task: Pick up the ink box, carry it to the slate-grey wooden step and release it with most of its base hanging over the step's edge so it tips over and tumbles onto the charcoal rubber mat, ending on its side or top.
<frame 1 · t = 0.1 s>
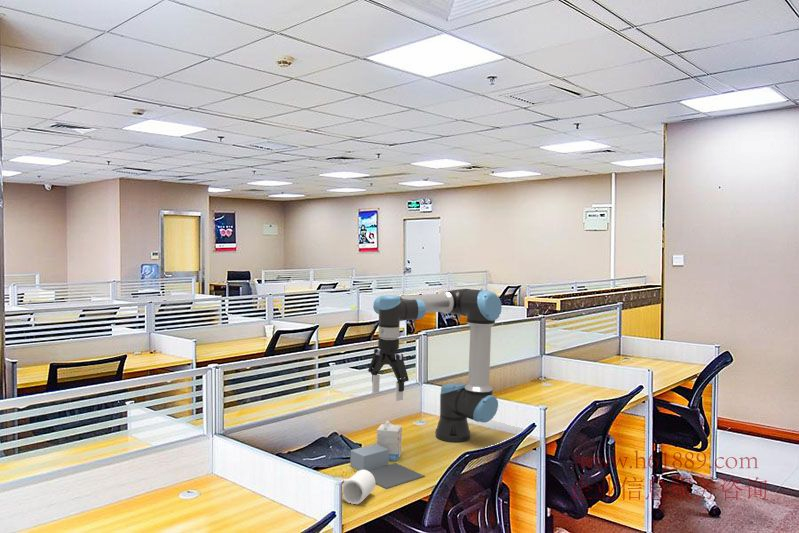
hand: (387, 396, 226), 28 cm above the table, fingers open, 13 cm apart
ink box: (388, 457, 243), on the table
mug: (352, 498, 204), on the table
step: (369, 465, 233), on the table
mat: (391, 475, 224), on the table
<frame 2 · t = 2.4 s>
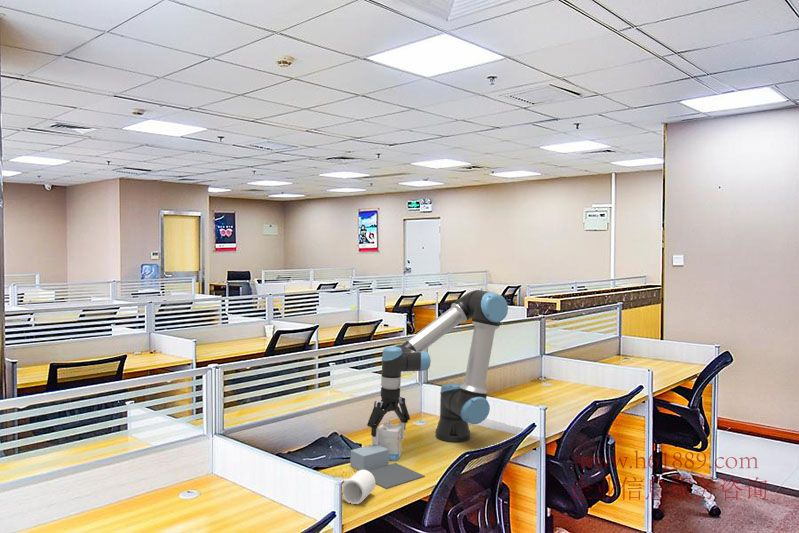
hand: (388, 441, 243), 6 cm above the table, fingers open, 12 cm apart
nothing on the table moved.
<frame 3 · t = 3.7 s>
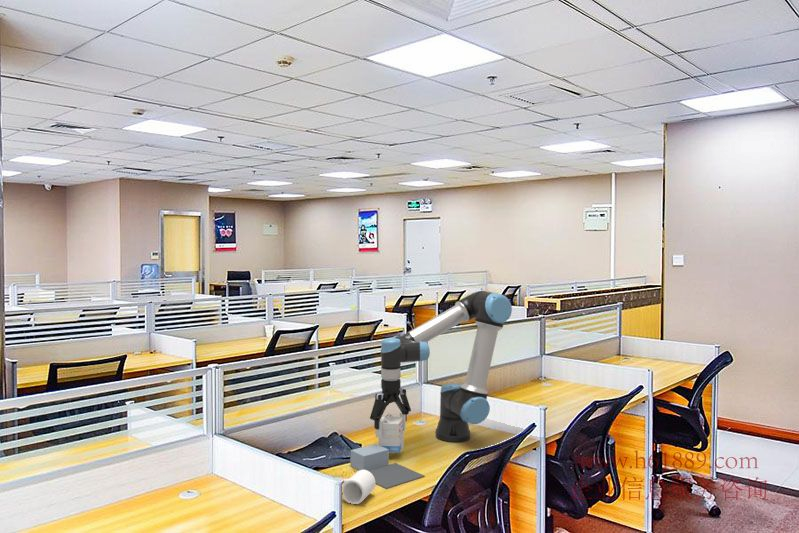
hand: (390, 433, 243), 9 cm above the table, fingers closed on ink box, 12 cm apart
ink box: (391, 449, 244), point 3 cm above the table, touching gripper
everything else where it was.
when the fingers open (12 cm above the table, at t = 6.6 s): ink box drops 1 cm, resting on mat.
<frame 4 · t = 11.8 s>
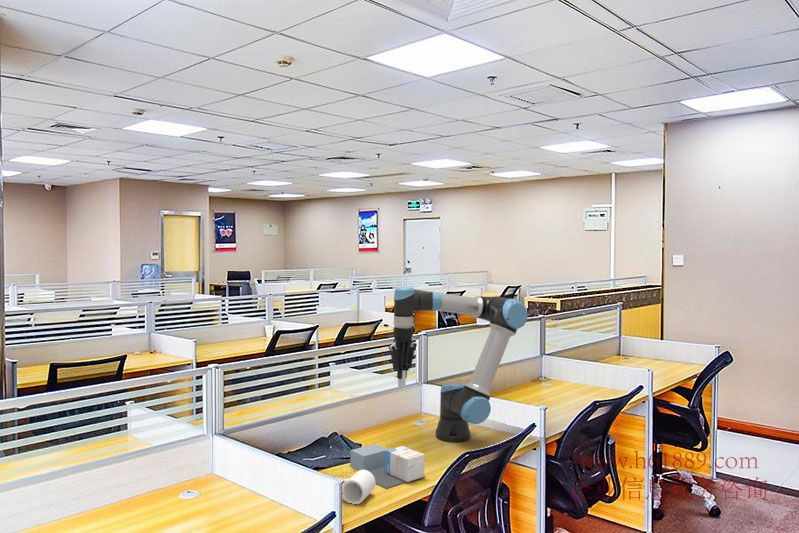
hand: (401, 386, 243), 27 cm above the table, fingers closed
ink box: (393, 458, 228), point 5 cm above the table, touching mat
everything else where it was.
at the end: ink box tilted 90°; ink box inside the target area (6.7 cm from its centre), point 4.6 cm above the table; the gripper is holding nothing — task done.
